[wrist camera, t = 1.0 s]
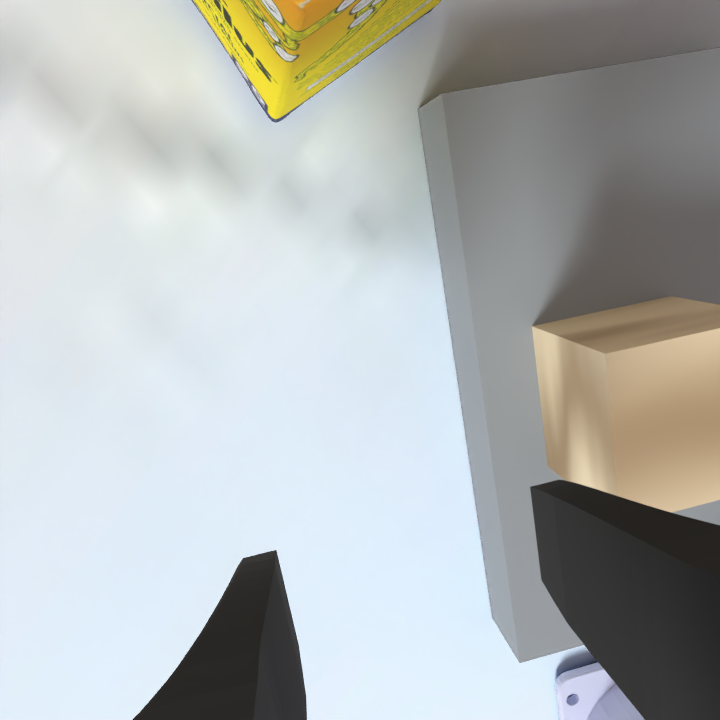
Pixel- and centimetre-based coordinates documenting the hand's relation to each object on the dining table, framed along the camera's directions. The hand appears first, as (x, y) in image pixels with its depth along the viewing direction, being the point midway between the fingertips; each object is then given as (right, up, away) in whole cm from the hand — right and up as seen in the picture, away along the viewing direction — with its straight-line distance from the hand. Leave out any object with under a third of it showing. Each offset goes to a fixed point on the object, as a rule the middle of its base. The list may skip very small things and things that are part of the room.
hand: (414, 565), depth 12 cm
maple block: (+7, +3, +8) cm, 11 cm away
